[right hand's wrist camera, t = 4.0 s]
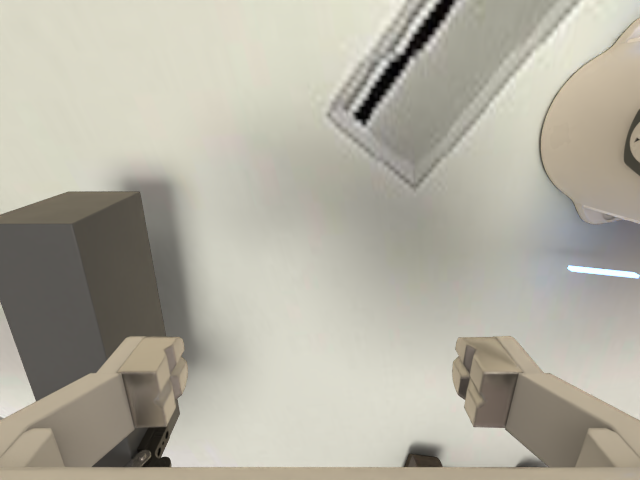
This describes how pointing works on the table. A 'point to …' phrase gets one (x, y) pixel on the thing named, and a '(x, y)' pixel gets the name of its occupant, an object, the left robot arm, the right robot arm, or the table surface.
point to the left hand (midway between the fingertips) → (125, 422)
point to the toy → (422, 461)
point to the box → (78, 290)
